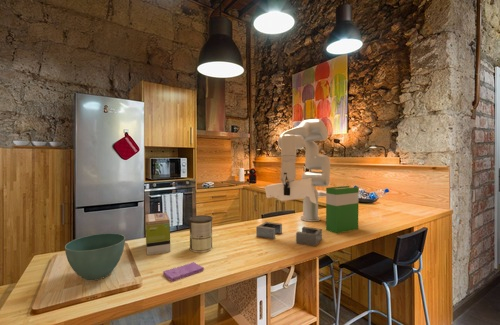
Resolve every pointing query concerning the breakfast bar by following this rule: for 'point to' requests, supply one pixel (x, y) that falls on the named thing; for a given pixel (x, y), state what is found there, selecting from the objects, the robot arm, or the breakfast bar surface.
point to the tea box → (157, 233)
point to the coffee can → (200, 233)
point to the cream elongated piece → (292, 190)
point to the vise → (305, 237)
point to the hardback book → (342, 209)
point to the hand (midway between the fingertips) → (288, 194)
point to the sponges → (182, 271)
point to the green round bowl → (95, 254)
